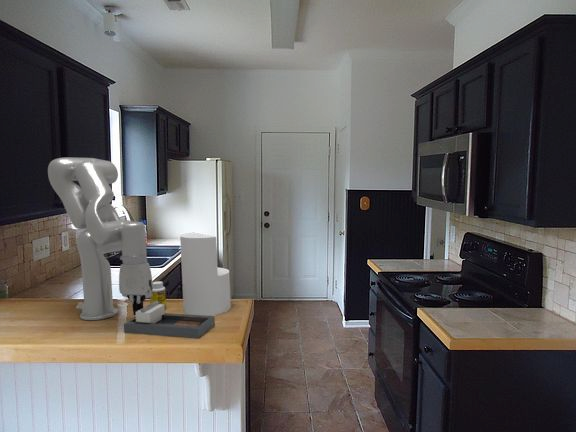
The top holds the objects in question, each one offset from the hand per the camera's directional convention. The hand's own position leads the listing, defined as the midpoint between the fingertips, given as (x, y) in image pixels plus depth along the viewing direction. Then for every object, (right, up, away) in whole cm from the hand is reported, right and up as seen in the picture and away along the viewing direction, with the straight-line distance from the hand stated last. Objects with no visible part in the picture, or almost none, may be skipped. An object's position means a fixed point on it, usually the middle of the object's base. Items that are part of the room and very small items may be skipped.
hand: (138, 314), depth 143 cm
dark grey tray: (+11, -4, -2) cm, 12 cm away
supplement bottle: (+1, -3, +19) cm, 19 cm away
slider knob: (+4, -2, -1) cm, 5 cm away
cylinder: (+20, -2, +18) cm, 27 cm away
